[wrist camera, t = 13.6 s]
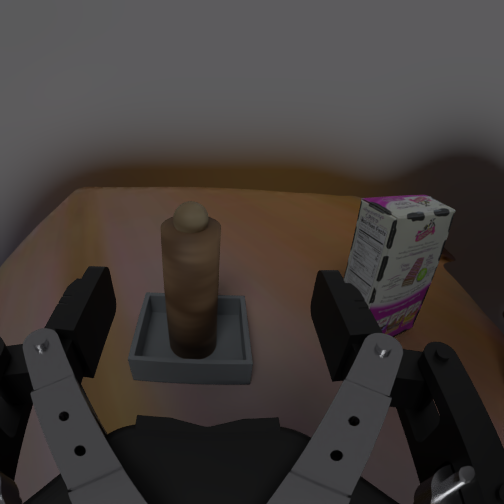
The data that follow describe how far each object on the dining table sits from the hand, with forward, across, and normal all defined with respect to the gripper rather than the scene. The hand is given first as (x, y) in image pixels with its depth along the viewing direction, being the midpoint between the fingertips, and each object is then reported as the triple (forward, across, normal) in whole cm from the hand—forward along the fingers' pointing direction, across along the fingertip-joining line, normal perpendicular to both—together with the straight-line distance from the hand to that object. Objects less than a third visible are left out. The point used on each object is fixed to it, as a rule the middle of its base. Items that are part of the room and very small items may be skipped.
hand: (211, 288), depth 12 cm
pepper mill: (+13, +2, +17) cm, 21 cm away
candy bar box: (+15, -18, +18) cm, 30 cm away
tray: (+13, +2, +17) cm, 22 cm away
